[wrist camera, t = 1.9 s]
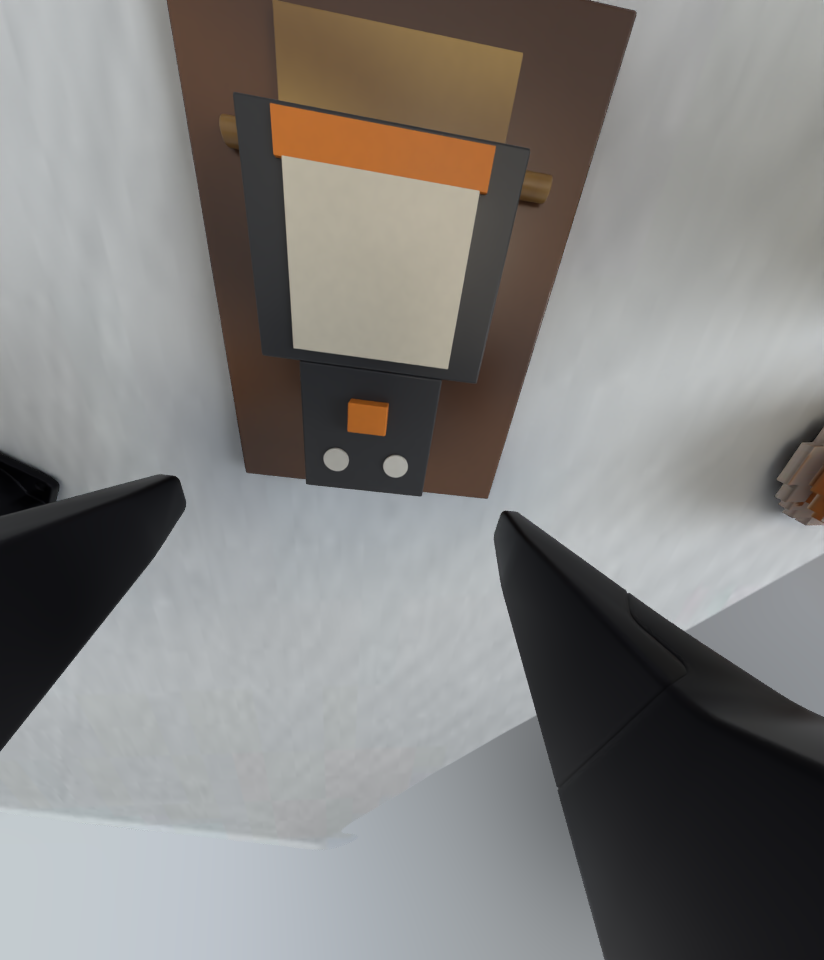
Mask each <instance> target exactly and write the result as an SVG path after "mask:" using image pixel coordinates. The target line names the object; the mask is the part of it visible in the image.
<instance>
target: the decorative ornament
mask: <svg viewBox="0 0 824 960" xmlns="http://www.w3.org/2000/svg"><path fill="white" fill-rule="evenodd" d="M776 480H778V481H780V482H782V483H784V484H783V485H782V486H781V488H780V489H779V491H778V492H777V494H776V495H775V496H774V497H776V498H778V499H780V500H781V501H780V503H779V504H778V505H780V506H782V507H784V508H785V509H784V510H783V513H784V514H786V515H788V516H790V517H792V518H796V519H795V520H797V521H799V522H801V523H802V524H804V525H824V427H823V429H822V430H821V431H820V433H819V434H818V436H817V437H816V438H815V440H814V441H813V442H802V443H801V444H800V446H799V447H798V449H797V450H796V452H795V453H794V455H793V456H792V458H791V459H790V460H789V462H788V463H787V465H786V466H785V468H784V469H783V471H782V472H781V474H780V475H779V476H778V478H777V479H776Z"/></svg>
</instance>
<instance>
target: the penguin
mask: <svg viewBox="0 0 824 960" xmlns="http://www.w3.org/2000/svg"><path fill="white" fill-rule="evenodd" d="M233 101H234V110H235V119H236V127H237V136H238V145H239V154H240V163H241V172H242V181H243V190H244V198H245V207H246V216H247V225H248V234H249V243H250V252H251V261H252V270H253V278H254V287H255V296H256V305H257V314H258V323H259V332H260V341H261V350H262V355H264V356H271V357H278V358H286V359H293V360H301V361H300V381H301V399H302V417H303V435H304V454H305V472H306V484H309V485H318V486H327V487H337V488H346V489H355V490H365V491H374V492H383V493H393V494H402V495H412V496H422V493H423V487H424V481H425V476H426V470H427V464H428V459H429V453H430V447H431V441H432V436H433V430H434V424H435V418H436V413H437V407H438V401H439V396H440V390H441V384H442V380H449V381H457V382H464V383H472V384H476V383H477V380H478V376H479V372H480V367H481V363H482V359H483V354H484V350H485V346H486V341H487V337H488V333H489V329H490V324H491V320H492V316H493V311H494V307H495V303H496V298H497V294H498V290H499V285H500V281H501V277H502V272H503V268H504V264H505V260H506V255H507V251H508V247H509V242H510V238H511V234H512V229H513V225H514V221H515V216H516V212H517V208H518V203H519V199H520V195H521V191H522V186H523V182H524V178H525V173H526V169H527V165H528V160H529V156H530V149H529V148H525V147H520V146H515V145H510V144H505V143H499V142H494V141H489V140H484V139H479V138H473V137H468V136H463V135H458V134H452V133H447V132H442V131H437V130H432V129H426V128H421V127H416V126H411V125H406V124H400V123H395V122H390V121H385V120H379V119H374V118H369V117H364V116H359V115H353V114H348V113H343V112H338V111H332V110H327V109H322V108H317V107H312V106H306V105H301V104H296V103H291V102H286V101H280V100H275V99H270V98H265V97H259V96H254V95H249V94H244V93H239V92H233ZM441 379H442V380H441Z"/></svg>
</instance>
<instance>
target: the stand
mask: <svg viewBox="0 0 824 960" xmlns="http://www.w3.org/2000/svg"><path fill="white" fill-rule="evenodd" d="M167 5H168V11H169V17H170V23H171V29H172V35H173V41H174V47H175V52H176V58H177V64H178V70H179V76H180V82H181V88H182V94H183V100H184V106H185V112H186V118H187V124H188V130H189V136H190V142H191V148H192V154H193V159H194V165H195V171H196V177H197V183H198V189H199V195H200V201H201V207H202V213H203V219H204V225H205V231H206V237H207V243H208V249H209V255H210V261H211V267H212V272H213V278H214V284H215V290H216V296H217V302H218V308H219V314H220V320H221V326H222V332H223V338H224V344H225V350H226V356H227V362H228V368H229V374H230V379H231V385H232V391H233V397H234V403H235V409H236V415H237V421H238V427H239V433H240V439H241V445H242V451H243V457H244V463H245V469H246V472H247V473H253V474H262V475H272V476H281V477H290V478H299V479H306V472H305V454H304V435H303V417H302V399H301V381H300V361H301V360H293V359H286V358H278V357H271V356H264V355H262V350H261V341H260V332H259V323H258V314H257V305H256V296H255V287H254V278H253V270H252V261H251V252H250V243H249V234H248V225H247V216H246V207H245V198H244V190H243V181H242V172H241V163H240V154H239V145H238V136H237V127H236V119H235V110H234V101H233V92H239V93H244V94H249V95H254V96H259V97H265V98H270V99H275V100H280V101H286V102H291V103H296V104H301V105H306V106H312V107H317V108H322V109H327V110H332V111H338V112H343V113H348V114H353V115H359V116H364V117H369V118H374V119H379V120H385V121H390V122H395V123H400V124H406V125H411V126H416V127H421V128H426V129H432V130H437V131H442V132H447V133H452V134H458V135H463V136H468V137H473V138H479V139H484V140H489V141H494V142H499V143H505V144H510V145H515V146H520V147H525V148H529V149H530V156H529V160H528V165H527V169H526V173H525V178H524V182H523V186H522V191H521V195H520V199H519V203H518V208H517V212H516V216H515V221H514V225H513V229H512V234H511V238H510V242H509V247H508V251H507V255H506V260H505V264H504V268H503V272H502V277H501V281H500V285H499V290H498V294H497V298H496V303H495V307H494V311H493V316H492V320H491V324H490V329H489V333H488V337H487V341H486V346H485V350H484V354H483V359H482V363H481V367H480V372H479V376H478V380H477V383H476V384H472V383H464V382H457V381H449V380H442V379H441V380H442V384H441V390H440V396H439V401H438V407H437V413H436V418H435V424H434V430H433V436H432V441H431V447H430V453H429V459H428V464H427V470H426V476H425V481H424V487H423V492H429V493H438V494H448V495H457V496H466V497H475V498H485V499H487V498H488V496H489V493H490V489H491V486H492V483H493V480H494V476H495V473H496V470H497V467H498V463H499V460H500V457H501V454H502V450H503V447H504V444H505V441H506V437H507V434H508V431H509V428H510V424H511V421H512V418H513V415H514V411H515V408H516V405H517V402H518V398H519V395H520V392H521V389H522V385H523V382H524V379H525V376H526V372H527V369H528V366H529V363H530V359H531V356H532V353H533V350H534V346H535V343H536V340H537V336H538V333H539V330H540V327H541V323H542V320H543V317H544V314H545V310H546V307H547V304H548V301H549V297H550V294H551V291H552V288H553V284H554V281H555V278H556V275H557V271H558V268H559V265H560V262H561V258H562V255H563V252H564V249H565V245H566V242H567V239H568V236H569V232H570V229H571V226H572V223H573V219H574V216H575V213H576V210H577V206H578V203H579V200H580V197H581V193H582V190H583V187H584V184H585V180H586V177H587V174H588V171H589V167H590V164H591V161H592V158H593V154H594V151H595V148H596V145H597V141H598V138H599V135H600V132H601V128H602V125H603V122H604V119H605V115H606V112H607V109H608V106H609V102H610V99H611V96H612V93H613V89H614V86H615V83H616V80H617V76H618V73H619V70H620V66H621V63H622V60H623V57H624V53H625V50H626V47H627V44H628V40H629V37H630V34H631V31H632V27H633V24H634V21H635V18H636V11H634V10H630V9H625V8H621V7H617V6H612V5H608V4H604V3H599V2H595V1H590V0H167Z"/></svg>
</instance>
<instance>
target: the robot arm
mask: <svg viewBox="0 0 824 960" xmlns="http://www.w3.org/2000/svg"><path fill="white" fill-rule="evenodd" d="M58 491H59V484H58V482H57V481H56V480H55V479H53V478H51V477H49V476H47V475H45V474H43V473H41V472H39V471H37V470H35V469H32V468H30V467H28V466H26V465H24V464H22V463H20V462H18V461H16V460H14V459H11V458H9V457H7V456H5V455H3V454H1V453H0V751H1V750H2V749H3V747H4V746H5V745H6V744H7V742H8V741H9V740H10V739H11V737H12V736H13V735H14V734H15V732H16V731H17V730H18V729H19V727H20V726H21V725H22V724H23V722H24V721H25V720H26V719H27V717H28V716H29V715H30V713H31V712H32V711H33V710H34V708H35V707H36V706H37V705H38V703H39V702H40V701H41V700H42V698H43V697H44V696H45V695H46V693H47V692H48V691H49V690H50V688H51V687H52V686H53V684H54V683H55V682H56V681H57V679H58V678H59V677H60V676H61V674H62V673H63V672H64V671H65V669H66V668H67V667H68V666H69V664H70V663H71V662H72V661H73V659H74V658H75V657H76V656H77V654H78V653H79V652H80V650H81V649H82V648H83V647H84V645H85V644H86V643H87V642H88V640H89V639H90V638H91V637H92V635H93V634H94V633H95V632H96V630H97V629H98V628H99V627H100V625H101V624H102V623H103V621H104V620H105V619H106V618H107V616H108V615H109V614H110V613H111V611H112V610H113V609H114V608H115V606H116V605H117V604H118V603H119V601H120V600H121V599H122V598H123V596H124V595H125V594H126V593H127V591H128V590H129V589H130V587H131V586H132V585H133V584H134V582H135V581H136V580H137V579H138V577H139V576H140V575H141V574H142V572H143V571H144V570H145V569H146V567H147V566H148V565H149V563H150V562H151V561H152V559H153V558H154V557H155V555H156V554H157V552H158V551H159V549H160V548H161V546H162V545H163V543H164V542H165V540H166V539H167V537H168V535H169V534H170V532H171V531H172V529H173V528H174V526H175V524H176V523H177V521H178V520H179V518H180V517H181V515H182V513H183V512H184V510H185V507H186V499H185V496H184V493H183V489H182V486H181V483H180V480H179V479H178V478H177V477H176V476H171V475H162V474H159V475H154V476H150V477H147V478H143V479H139V480H135V481H132V482H128V483H124V484H120V485H116V486H113V487H109V488H105V489H101V490H98V491H94V492H90V493H86V494H83V495H79V496H75V497H71V498H68V499H64V500H60V501H56V498H57V495H58ZM494 544H495V550H496V557H497V563H498V569H499V576H500V582H501V587H502V591H503V595H504V599H505V602H506V606H507V609H508V613H509V617H510V620H511V624H512V627H513V631H514V635H515V638H516V642H517V645H518V649H519V653H520V656H521V660H522V663H523V667H524V671H525V674H526V678H527V681H528V685H529V689H530V692H531V696H532V699H533V703H534V707H535V710H536V714H537V717H538V721H539V724H540V728H541V732H542V735H543V739H544V742H545V746H546V750H547V753H548V757H549V760H550V764H551V768H552V771H553V775H554V778H555V782H556V786H557V787H558V794H559V797H560V801H561V804H562V808H563V812H564V815H565V819H566V823H567V826H568V830H569V833H570V836H571V840H572V844H573V848H574V851H575V855H576V859H577V862H578V865H579V869H580V873H581V876H582V880H583V884H584V887H585V891H586V894H587V898H588V902H589V905H590V909H591V912H592V916H593V920H594V923H595V927H596V930H597V934H598V938H599V941H600V945H601V948H602V952H603V956H604V959H605V960H824V717H823V716H820V715H818V714H816V713H814V712H812V711H809V710H807V709H806V708H804V707H802V706H800V705H798V704H796V703H794V702H793V701H791V700H789V699H788V698H786V697H784V696H783V695H781V694H779V693H778V692H776V691H775V690H773V689H772V688H770V687H768V686H767V685H765V684H764V683H762V682H761V681H759V680H758V679H756V678H755V677H753V676H752V675H750V674H749V673H747V672H745V671H744V670H742V669H741V668H739V667H738V666H736V665H735V664H733V663H732V662H730V661H729V660H727V659H726V658H724V657H722V656H721V655H719V654H718V653H716V652H715V651H713V650H712V649H710V648H709V647H707V646H706V645H704V644H703V643H701V642H699V641H698V640H697V639H695V638H693V637H692V636H691V635H689V634H687V633H686V632H685V631H683V630H682V629H680V628H679V627H677V626H676V625H674V624H673V623H671V622H670V621H668V620H667V619H665V618H664V617H662V616H661V615H660V614H658V613H657V612H655V611H654V610H653V609H651V608H650V607H648V606H647V605H645V604H644V603H643V602H641V601H640V600H639V599H637V598H636V597H634V596H633V595H632V594H630V593H627V591H626V590H625V589H623V588H622V587H620V586H619V585H618V584H616V583H615V582H614V581H612V580H611V579H609V578H608V577H607V576H605V575H604V574H602V573H601V572H600V571H598V570H597V569H596V568H594V567H593V566H591V565H590V564H589V563H587V562H586V561H584V560H583V559H582V558H580V557H579V556H578V555H576V554H575V553H573V552H572V551H571V550H569V549H568V548H566V547H565V546H564V545H562V544H561V543H560V542H558V541H557V540H555V539H554V538H553V537H551V536H550V535H549V534H547V533H546V532H544V531H543V530H542V529H540V528H539V527H537V526H536V525H535V524H533V523H532V522H531V521H529V520H528V519H526V518H525V517H524V516H522V515H521V514H519V513H518V512H514V511H503V512H502V513H501V515H500V518H499V521H498V524H497V527H496V530H495V533H494Z"/></svg>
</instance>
